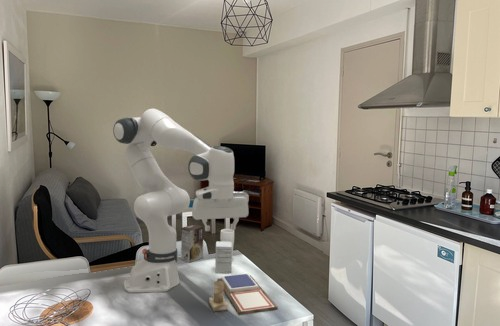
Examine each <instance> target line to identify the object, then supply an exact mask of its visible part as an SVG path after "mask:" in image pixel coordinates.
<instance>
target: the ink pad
mask: <svg viewBox="0 0 500 326" xmlns="http://www.w3.org/2000/svg"><path fill="white" fill-rule="evenodd" d="M250 275H251V274H249V273H243V274H242V273H241V274H232V275H225V276H221V277H220V278H221V279H222V281H223V282H224V284H225V285H226V287H227V289H228V290H229V292H237V291H246V290H254V289H259V286H260V285H259V286H258V285H257V284H256V282H257V281H256V280H255V279H254V278H253V279H254V280H255V281H256V282H255V281H254V280H253V279H252V278H251V277H250Z"/></svg>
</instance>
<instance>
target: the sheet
mask: <svg viewBox="0 0 500 326" xmlns="http://www.w3.org/2000/svg"><path fill="white" fill-rule="evenodd" d="M231 296H232V297H233V299H234V301H235V302H236V304H237V305H238V307H239V308H240V310H241V311H249V310H256V309H263V308H270V307H274V306H273V305H272V303H271V302H270V301H269V300H268V299H267V297H266V296H265V295H264V294H263V293H262V291H261V290H256V291H248V292H240V293H231Z"/></svg>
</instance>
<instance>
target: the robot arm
mask: <svg viewBox="0 0 500 326" xmlns="http://www.w3.org/2000/svg"><path fill="white" fill-rule="evenodd" d="M112 128H113V129H112V131H113V136H114V138H115V140H116V141H117V142H118V143H120V144H124V145H126V147H125V148H124V156H125V161H126V163H127V165H128V167H129V169H130V172H131V173H132V175H133V177H134V179H135V182H136V183H137V185H138V187H140V188H141V189H143V190H145V191H147V193H143V194H142V195H140V196H139V195H138V197H136V199H135V201H134V202H133V204H134V205H133V211H134V214H135V215H136V217H137V218H138V219H140V220H141V221H142V222H143V223H144V224H145V226H146V229H147V232H148V249H147V248H142V251H141V252H142V254H143V259H142V260H140V261H139V262H138V263H137V264H135V265H134V266H132V268H131V269H130V273H129V276H128V277H126V278H125V279H124V281H123V288H124V290H125V291H126V292H127V293H133V294H134V293H158V292H159V293H162V292H168V291H169V290H171V289H172V288H175V287H176V286H178V285H179V284H180V281H181V279H180V277H179V273H178V272H179V270H178V255H179V254H178V248H177V230H176V229H175V228H174V227H173V226H172V225H169V223H168V222H169V221H168V217H171V216H175V215H178V214H181V213H183V212H184V211H186V210H188V208H189V207H190V203H191V199H190V198H191V197H190V194H189V193H188V192H187V190H186V189H183V188H182V187H181V188H180V187H179V186H177V185H176V184H174V183H173V182H172V181H171V180H169V178H168V177H167V176H166V175H165V174H164V173H163V170H162V169H161V168H160V166H159V164H158V162H157V160H156V158H155V156H154V155H153V153H152V152H151V147H155V146H156V145H157V144H158V145H159V146H160V147H162V148H165V149H168V150H177V151H178V150H181V151H185V152H188V153H191V154H194V155H193V156H192V157H191V158H190V159H189V161H188V163H187V170H188V173H189V176H190V177H191V178H192V179H194V180H195V181H208V186H206V187H203V188H200V189H198V190H196V191H195V196H196V197H195V198H194V200H193V204H192V211H191V216H192V218H193V219H194V220H196V221H197V220H198V221H199V220H201V221H202V224H203V225H204V231H205V232H210V231H211V225H209V224H208V223H207V222H208V220H215V219H218V220H219V219H233V222H232V223H230V224H229V225H230V227H229V229H231V230H234V231H235V230H236V226H237V224H238V222H239V219H240V218H247V217H248V216H249V197H250V195H249V194H248V192H246V191H235V190H234V189H235V182H234V174H235V156H234V151H233V149H231V148H229V147H226V146H221V145H214V146H211V145H209V144H208V143H207V142H205V141H204V140H203V139H201V138H199V136H197V135H195V134H193V133H191V132H190V131H189V130H187V129H186V128H185V127H183V126H181V125H180V124H179V123H177V122H176V120H175V121H174V119H172V118H171V116H169V115H168V114H166V113H164V112H163V111H161V110H159V109H157V108H148V109H147V110H145V111H144V112H142V115H141V116H137V117H123V118H120V119H118V120H116V121H115V123H114V125H113V127H112ZM207 224H208V225H207Z"/></svg>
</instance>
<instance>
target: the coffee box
mask: <svg viewBox="0 0 500 326" xmlns="http://www.w3.org/2000/svg"><path fill="white" fill-rule="evenodd" d="M180 240H181V248H180V249H181V251H180V252H181V254H180V255H181V256H180V259H181V261H183V262H186V263H192V262H195V261H198V260H200V259H203V258H204V226H201V225H198V224H196V223H195V224H194V223H193V224H190V225H186V226H183V227H181V239H180Z"/></svg>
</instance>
